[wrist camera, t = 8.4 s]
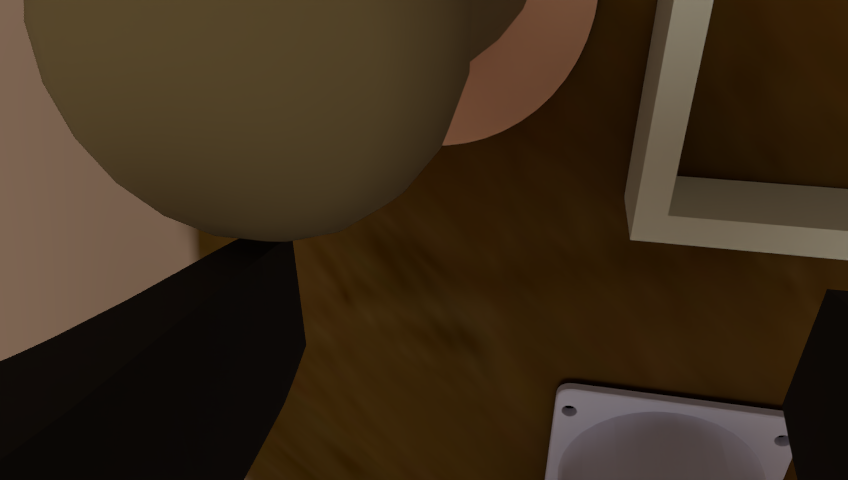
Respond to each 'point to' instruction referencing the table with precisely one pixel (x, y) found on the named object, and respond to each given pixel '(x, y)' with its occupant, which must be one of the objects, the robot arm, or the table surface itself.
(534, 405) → the table surface
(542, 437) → the table surface
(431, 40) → the brown tapered cylinder
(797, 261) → the table surface
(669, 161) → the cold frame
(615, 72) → the table surface
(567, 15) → the peach flat disc
